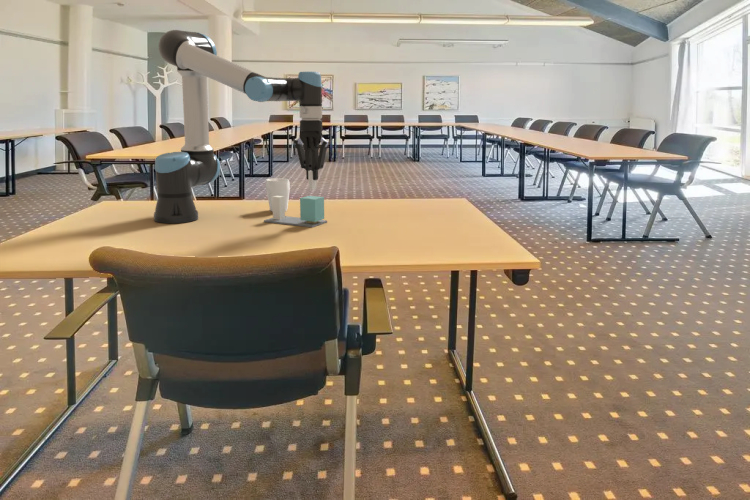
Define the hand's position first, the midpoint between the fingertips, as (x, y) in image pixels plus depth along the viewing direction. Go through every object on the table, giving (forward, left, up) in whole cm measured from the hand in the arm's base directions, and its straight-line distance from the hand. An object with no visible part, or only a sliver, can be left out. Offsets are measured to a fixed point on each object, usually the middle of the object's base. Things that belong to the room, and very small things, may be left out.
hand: (312, 189), depth 217 cm
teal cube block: (0, 0, -11) cm, 11 cm away
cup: (-25, +16, -12) cm, 32 cm away
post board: (-7, 0, -12) cm, 14 cm away
